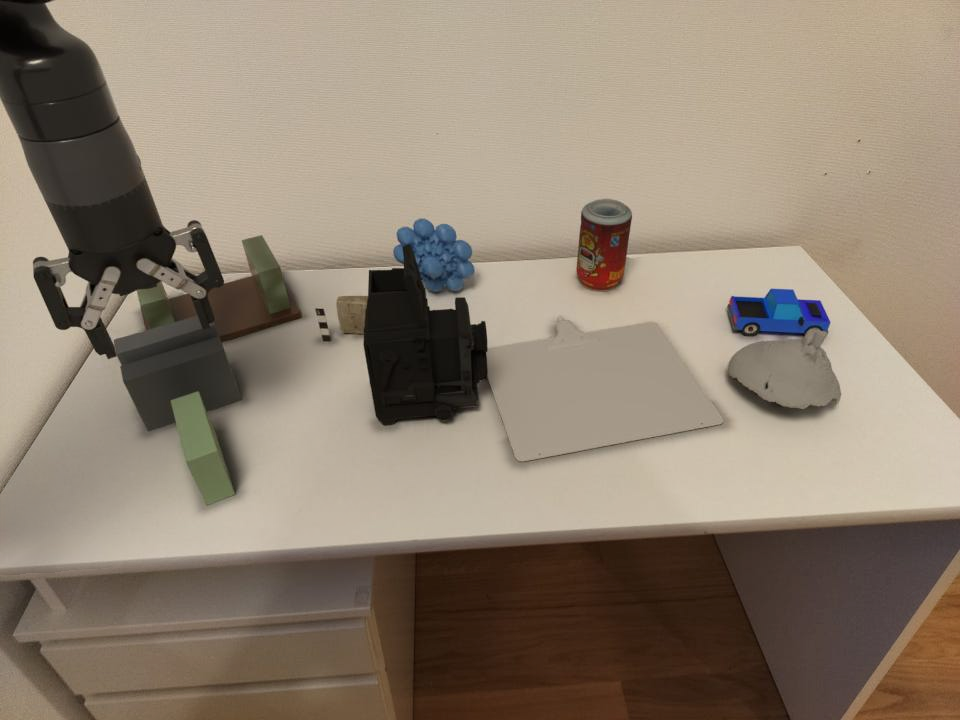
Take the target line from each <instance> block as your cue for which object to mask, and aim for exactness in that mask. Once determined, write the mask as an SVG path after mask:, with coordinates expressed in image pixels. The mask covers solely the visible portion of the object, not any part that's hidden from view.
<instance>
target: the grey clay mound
mask: <svg viewBox="0 0 960 720" xmlns="http://www.w3.org/2000/svg"><path fill="white" fill-rule="evenodd" d="M827 336H828V334H827V332H825V331H821V330H817V329H810V330H809V331H808V332H807V333H806V334H805V335H804V336H803V338H791V339H775V340H760V341H755V342H752V343H750V344H747V345H745V346H743V347H741V349H739V350H737V351H736V352H735V353H734V354H733V355H732V356H731V358H730V359H729V362H728V364H727V373H728V375H729V376H730V377H731V378H733V379H737V382H738V383H741V385H742V386H744V387H746V388H747V389H748V390H749V391H753V392H754V393H755V394H756V393H757V394H756V395H757V396H758V397H760V398H761V399H762V400H764V401H767V402H769V403H771V402H772V403H776V404H778V405H780V406H782V407H784V408H793V409H794V408H795V409H801V410H805V409H807V408H808V407H810V406H812V407H818V408H819V407H826V406H827V405H828V404H830V403H831V401H833V402H834V405H836V406H837V405H838V404H839V402H840V401H841V397H842V390H841V386H840V383H839V380H838V377H837V375H836V373H835V372H834V371H833V366H832V363H831V360H830V358H829V357H828V355H827V351H825V349H824V348H823V347H822V344H824V341H825V339H826V337H827ZM766 387H767V388H766Z"/></svg>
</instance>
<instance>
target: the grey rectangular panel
mask: <svg viewBox="0 0 960 720" xmlns="http://www.w3.org/2000/svg"><path fill="white" fill-rule="evenodd" d="M554 329H555V331H556V336H553V337H548V338H540V339H535V340H529V341H528V340H527V341H523V342H517V343H516V342H515V343H511V344H504V345H498V346H497V345H496V346H491V347H488V350H487V352H486V355H487V369H488V375H487V381H488V383H489V386H490V389H491V391H492V394H493V397H494V400H495V403H496V406H497V409H498V411H499V414H500V417H501V420H502V423H503V426H504V429H505V433H506V436H507V437H508V440H509V444H510V446H511V449H512V452H513V455H514V459H516V460H517V461H518V462H528V461H534V460H539V459H545V458H550V457H554V456H555V457H556V456H560V455H566V454H570V453H577V452H581V451H582V452H583V451H586V450H593V449H597V448H602V447H609V446H614V445H618V444H623V443H629V442H634V441H639V440H644V439H651V438H656V437H661V436H665V435H671V434H672V435H673V434H677V433H682V432H688V431H693V430H698V429H704V428H708V427H715V426H720V425H722V424H723V423H724V418H723V416H722V415H721V413H720V412H719V411H718V409H717V408H716V407H715V405H714V404H713V402H712V400H711V399H710V398H709V396H708V395H707V393H706V392H705V390H704V389H703V387H702V386H701V384H700V383H699V382H698V381H697V379H696V377H695V376H694V374H693V373H692V371H691V370H690V369H689V367H688V366H687V364H686V363H685V361H684V360H683V358H682V357H681V356H680V354H679V353H678V351H677V350H676V348H675V347H674V345H673V344H672V342H671V341H670V340H669V338H668V337H667V335H666V334H665V333H664V330H663V329H662V328H661V326H660V325H659V324H658V322H655V321H647V322H641V323H635V324H629V325H623V326H622V325H621V326H616V327H610V328H604V329H603V328H602V329H598V330H597V329H596V330H590V331H585V332H584V331H581V330H580V329H578V328H577V327H576V326H575V325H574V323H573V322H572V321H571V320H569V319H564V317H563V315H559V316H558V317H557V319H556V323H555V324H554Z"/></svg>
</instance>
